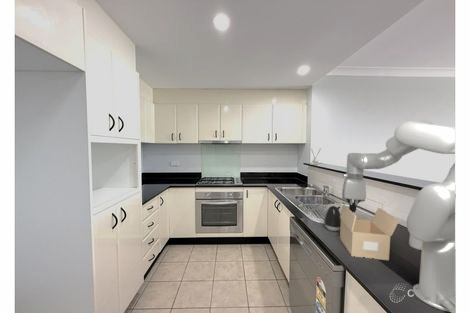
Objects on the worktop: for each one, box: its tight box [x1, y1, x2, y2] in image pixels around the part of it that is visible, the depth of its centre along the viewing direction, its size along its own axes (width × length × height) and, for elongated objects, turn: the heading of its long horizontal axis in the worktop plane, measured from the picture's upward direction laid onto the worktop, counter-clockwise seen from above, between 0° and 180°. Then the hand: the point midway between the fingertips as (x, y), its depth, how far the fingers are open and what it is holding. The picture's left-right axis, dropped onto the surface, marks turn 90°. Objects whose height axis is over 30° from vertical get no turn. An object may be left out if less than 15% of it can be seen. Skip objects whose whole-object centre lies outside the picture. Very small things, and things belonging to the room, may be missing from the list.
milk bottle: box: [408, 233, 423, 251], centre depth 111 cm, size 8×8×20 cm
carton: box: [339, 218, 391, 261], centre depth 109 cm, size 20×16×12 cm
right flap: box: [371, 207, 400, 237], centre depth 107 cm, size 20×8×1 cm
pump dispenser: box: [323, 205, 341, 232], centre depth 132 cm, size 10×10×15 cm
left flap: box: [340, 204, 357, 232], centre depth 110 cm, size 20×8×1 cm
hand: (352, 211), depth 110 cm, fingers closed
